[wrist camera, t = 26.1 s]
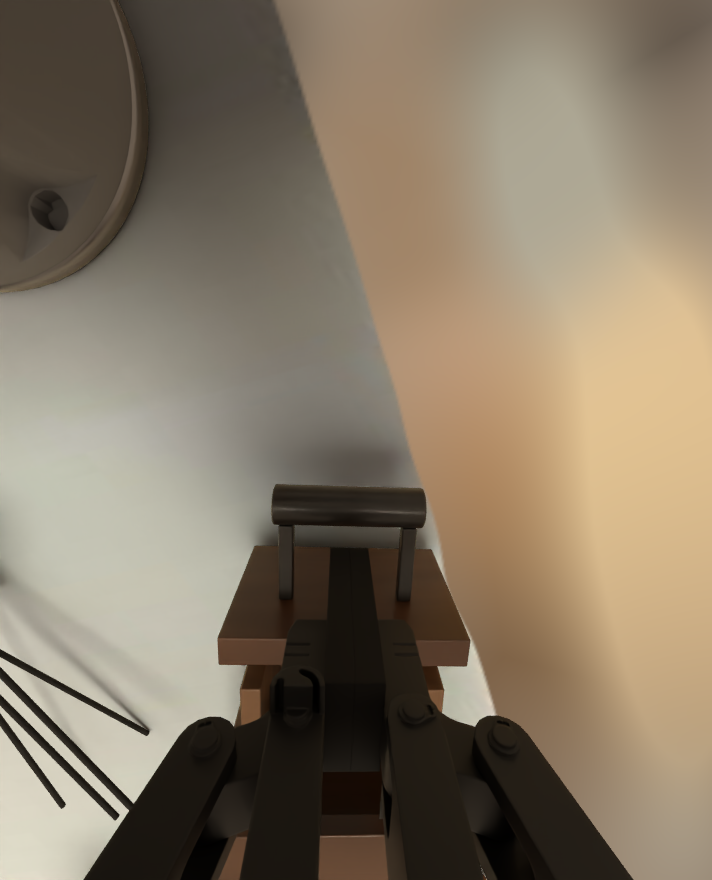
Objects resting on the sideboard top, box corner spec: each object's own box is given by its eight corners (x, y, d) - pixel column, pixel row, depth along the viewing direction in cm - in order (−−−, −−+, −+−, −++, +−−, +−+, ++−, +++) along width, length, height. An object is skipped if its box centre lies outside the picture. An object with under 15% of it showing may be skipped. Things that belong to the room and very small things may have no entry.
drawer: (252, 453, 20) (211, 511, 14) (440, 459, 21) (487, 518, 14) (257, 706, 24) (226, 846, 18) (415, 706, 25) (443, 842, 18)
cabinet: (249, 666, 24) (203, 837, 16) (425, 668, 25) (468, 834, 17) (253, 811, 27) (215, 1019, 19) (410, 809, 28) (440, 1011, 20)
